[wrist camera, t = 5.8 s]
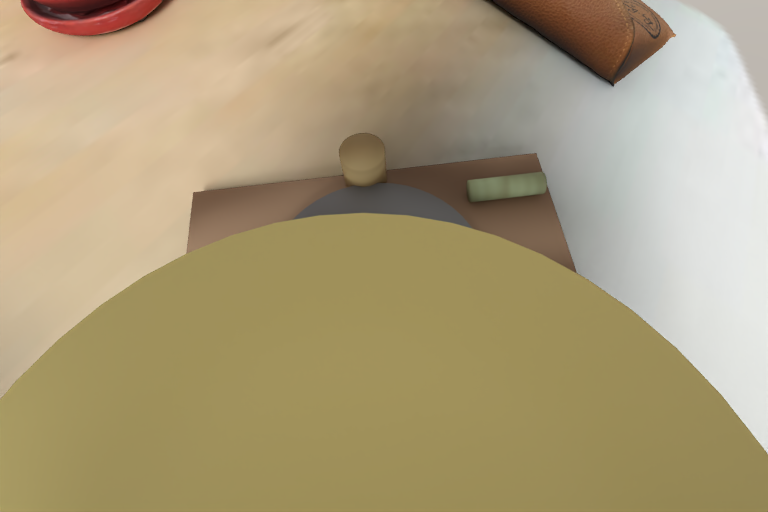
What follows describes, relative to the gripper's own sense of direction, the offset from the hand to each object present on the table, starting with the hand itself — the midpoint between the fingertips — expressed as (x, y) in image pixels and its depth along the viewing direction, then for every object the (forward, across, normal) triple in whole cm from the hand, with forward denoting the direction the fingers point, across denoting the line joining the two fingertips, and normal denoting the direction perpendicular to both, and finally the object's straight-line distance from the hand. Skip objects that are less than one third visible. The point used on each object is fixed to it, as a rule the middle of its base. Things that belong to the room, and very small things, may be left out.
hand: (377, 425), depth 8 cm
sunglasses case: (+31, -15, -11) cm, 36 cm away
